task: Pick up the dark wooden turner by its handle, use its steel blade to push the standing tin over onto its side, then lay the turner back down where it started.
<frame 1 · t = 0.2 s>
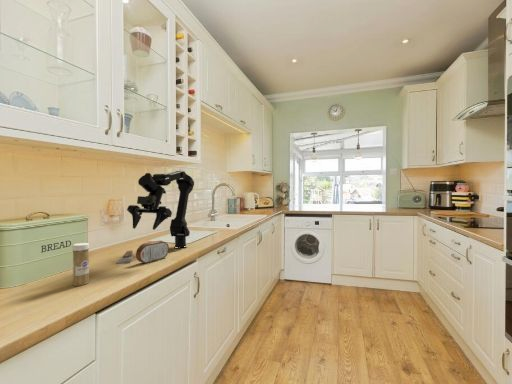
hand: (143, 228, 108), 15 cm above the table, tool tilted 30°, fingers open, 9 cm apart
tin: (153, 261, 112), on the table
sprinkles bottle: (81, 284, 84), on the table
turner: (126, 258, 116), on the table
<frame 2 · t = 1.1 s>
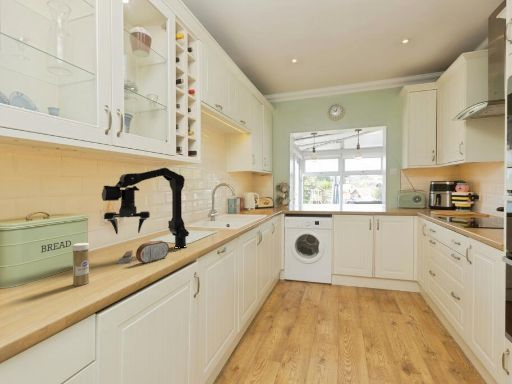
hand: (128, 233, 118), 11 cm above the table, tool pointing down, fingers open, 9 cm apart
nothing on the table moved.
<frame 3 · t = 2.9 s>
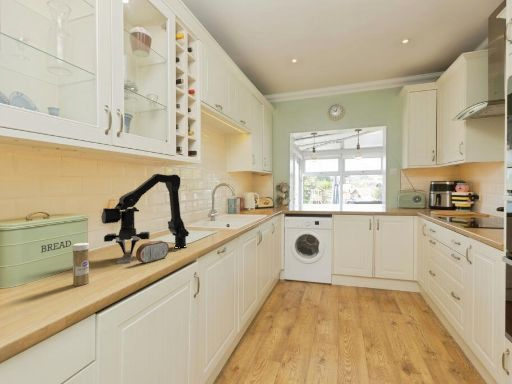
hand: (128, 254, 119), 1 cm above the table, tool pointing down, fingers closed on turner, 2 cm apart
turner: (126, 258, 116), on the table, touching gripper
everything else where it was.
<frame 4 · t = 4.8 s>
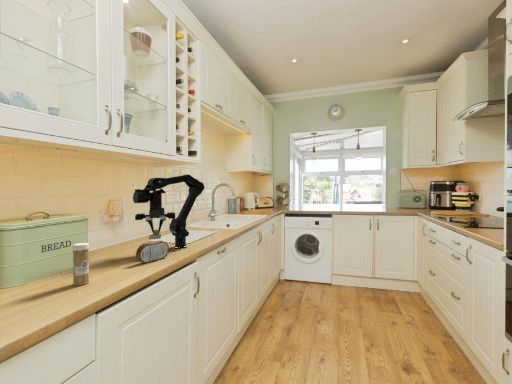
hand: (156, 233, 128), 10 cm above the table, tool pointing down, fingers closed on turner, 2 cm apart
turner: (155, 235, 125), point 9 cm above the table, touching gripper
everything else where it was.
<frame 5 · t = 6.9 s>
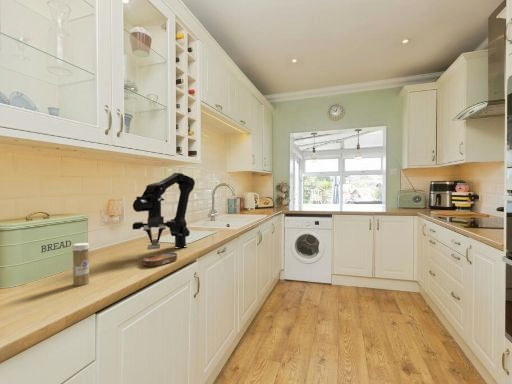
hand: (154, 242, 121), 6 cm above the table, tool pointing down, fingers closed on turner, 2 cm apart
tin: (154, 258, 111), point 1 cm above the table
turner: (154, 245, 118), point 5 cm above the table, touching gripper
everything else where it was.
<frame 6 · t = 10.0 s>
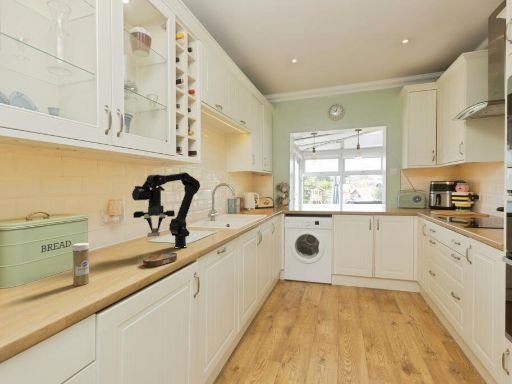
hand: (155, 231, 125), 11 cm above the table, tool pointing down, fingers closed on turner, 2 cm apart
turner: (154, 234, 122), point 10 cm above the table, touching gripper
everything else where it was.
when the fingers open (3 cm above the table, at t = 12.5 s): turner drops 2 cm, on the table.
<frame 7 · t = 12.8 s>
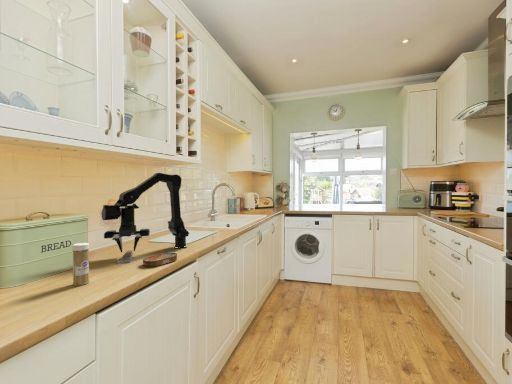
hand: (128, 251, 119), 2 cm above the table, tool pointing down, fingers open, 5 cm apart
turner: (126, 258, 116), on the table
everything else where it was.
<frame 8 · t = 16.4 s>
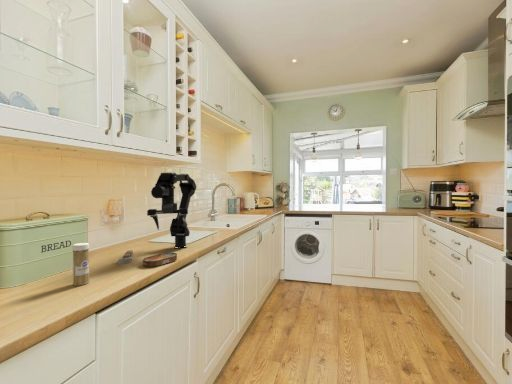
hand: (168, 229, 125), 12 cm above the table, tool pointing down, fingers open, 9 cm apart
nothing on the table moved.
at the end: tin tilted 86°; the gripper is holding nothing; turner inside the target area (0.1 cm from its centre), on the table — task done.
